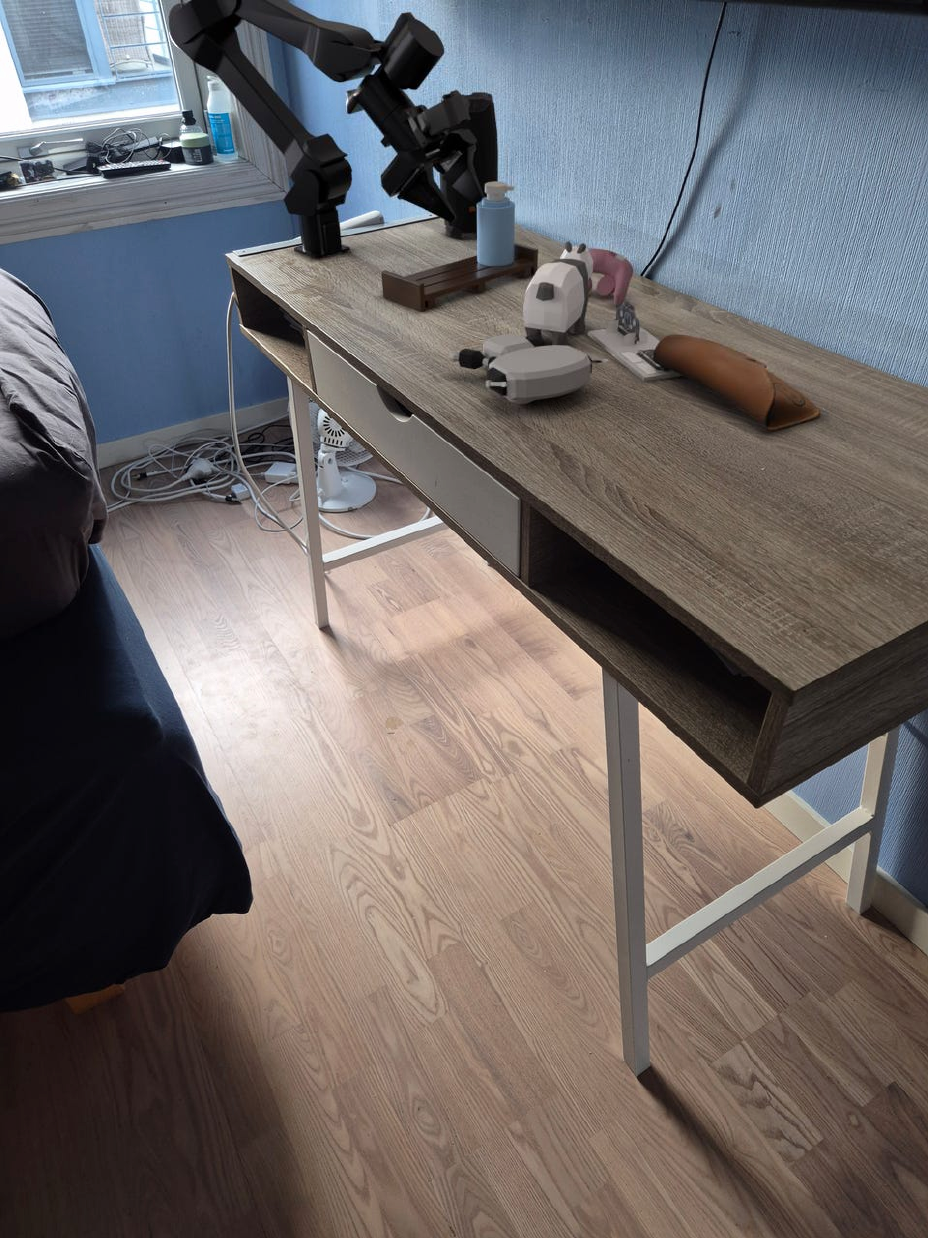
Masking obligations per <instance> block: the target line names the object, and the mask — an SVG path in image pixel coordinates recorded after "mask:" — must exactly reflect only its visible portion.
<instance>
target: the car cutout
mask: <svg viewBox="0 0 928 1238" xmlns="http://www.w3.org/2000/svg"><path fill="white" fill-rule="evenodd" d="M587 336H588V337H589V338H591V339H592V340H593V341H594V342H596V343H597V344H598V345H599V346H600V347H602V348H603V349H604V350H605V351H606V352H607V353H609V354H610V355H611V356H613V357H614V358H615V359H616V360H617V361H619V362H620V363H621V364H622V365H623V366H625V367H626V368H627V369H628V370H629V371H631V372H632V373H633V374H634V375H635V376H637V377H638V378H639V379H640V380H642V381H643V382H652V381H658V380H665V379H670V378H677V377H683V376H682V375H681V374H679V373H676V372H674V371H672V370H670V369H668V368H665V367H664V366H662V365H658V364H656V363H655V362H654V360H653V354H654V351H655V348H656V346H657V345H658V343H659V342H660V341H661V340H659V338H657V337H655V336H654V335H652V334H651V333H650V332H648V330H646V329H644V328H643V327H642V326H641V323H640V320H639V318H638V317H637V314H636V308H635V306H634V305H633V304H632V303H630V302H629V301H627V300H624V301H623V302H622V304H621V305H619V306H617V308H616V309H615V319H614V320H609V321H608V322H607V323H606V325H605V328H601V329H594V330H588V331H587Z"/></svg>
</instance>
